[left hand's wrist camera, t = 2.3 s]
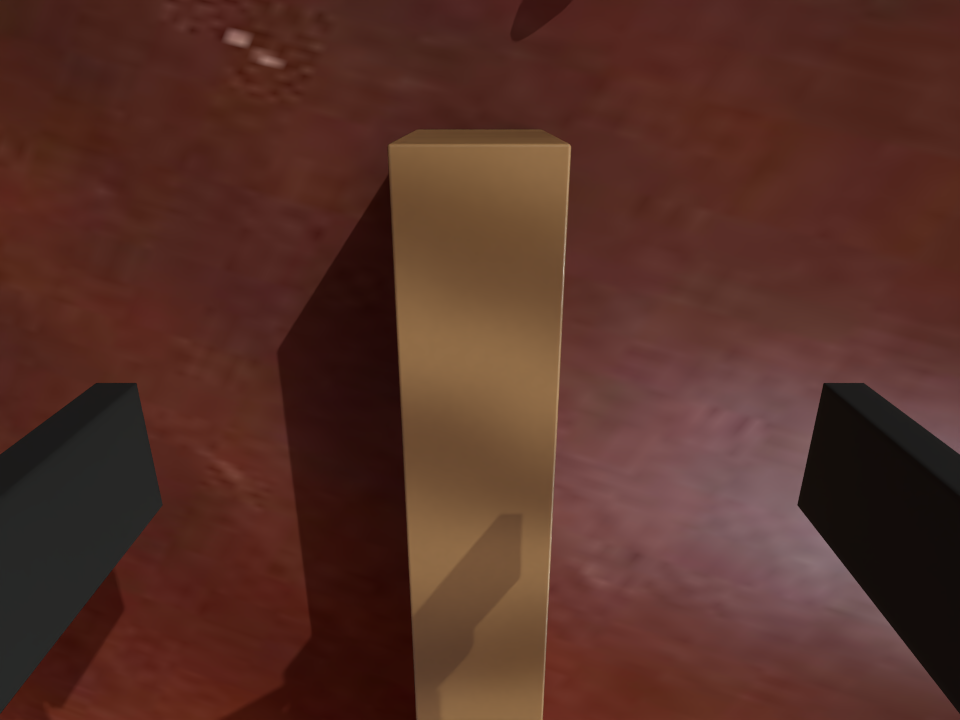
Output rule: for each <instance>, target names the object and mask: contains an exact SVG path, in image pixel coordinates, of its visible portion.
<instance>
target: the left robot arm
mask: <svg viewBox="0 0 960 720" xmlns="http://www.w3.org/2000/svg"><path fill="white" fill-rule="evenodd" d="M161 506H162V500H161V496H160V491H159V486H158V482H157V477H156V472H155V468H154V463H153V458H152V454H151V449H150V444H149V440H148V435H147V430H146V426H145V421H144V417H143V412H142V407H141V403H140V398H139V393H138V389H137V384H136V383H96V384H94V385H93V386H92V387H90V388H89V389H88V390H86V391H85V392H84V393H82V394H81V395H80V396H78V397H77V398H76V399H74V400H73V401H72V402H70V403H69V404H68V405H66V406H65V407H64V408H62V409H61V410H59V411H58V412H57V413H55V414H54V415H53V416H51V417H50V418H49V419H47V420H46V421H45V422H43V423H42V424H41V425H39V426H38V427H37V428H35V429H34V430H33V431H31V432H30V433H29V434H27V435H26V436H25V437H23V438H22V439H21V440H19V441H18V442H17V443H15V444H14V445H13V446H11V447H10V448H8V449H7V450H6V451H4V452H3V453H2V454H0V713H1V712H2V711H3V709H4V708H5V707H6V706H7V704H8V703H9V702H10V700H11V699H12V698H13V697H14V695H15V694H16V693H17V691H18V690H19V689H20V688H21V686H22V685H23V684H24V682H25V681H26V680H27V679H28V677H29V676H30V675H31V673H32V672H33V671H34V670H35V668H36V667H37V666H38V664H39V663H40V662H41V661H42V659H43V658H44V657H45V655H46V654H47V653H48V652H49V650H50V649H51V648H52V646H53V645H54V644H55V643H56V641H57V640H58V639H59V637H60V636H61V635H62V634H63V632H64V631H65V630H66V628H67V627H68V626H69V625H70V623H71V622H72V621H73V619H74V618H75V617H76V616H77V614H78V613H79V612H80V611H81V609H82V608H83V607H84V605H85V604H86V603H87V602H88V600H89V599H90V598H91V596H92V595H93V594H94V593H95V591H96V590H97V589H98V587H99V586H100V585H101V584H102V582H103V581H104V580H105V578H106V577H107V576H108V575H109V573H110V572H111V571H112V569H113V568H114V567H115V566H116V564H117V563H118V562H119V560H120V559H121V558H122V557H123V555H124V554H125V553H126V551H127V550H128V549H129V548H130V546H131V545H132V544H133V542H134V541H135V540H136V539H137V537H138V536H139V535H140V533H141V532H142V531H143V530H144V528H145V527H146V526H147V524H148V523H149V522H150V521H151V519H152V518H153V517H154V515H155V514H156V513H157V512H158V510H159V509H160V508H161ZM798 506H799V508H800V509H801V510H802V512H803V513H804V514H805V515H806V517H807V518H808V519H809V521H810V522H811V523H812V524H813V526H814V527H815V528H816V530H817V531H818V532H819V533H820V535H821V536H822V537H823V539H824V540H825V541H826V542H827V544H828V545H829V546H830V548H831V549H832V550H833V551H834V553H835V554H836V555H837V557H838V558H839V559H840V560H841V562H842V563H843V564H844V566H845V567H846V568H847V569H848V571H849V572H850V573H851V575H852V576H853V577H854V578H855V580H856V581H857V582H858V584H859V585H860V586H861V587H862V589H863V590H864V591H865V593H866V594H867V595H868V596H869V598H870V599H871V600H872V602H873V603H874V604H875V605H876V607H877V608H878V609H879V611H880V612H881V613H882V614H883V616H884V617H885V618H886V619H887V621H888V622H889V623H890V625H891V626H892V627H893V628H894V630H895V631H896V632H897V634H898V635H899V636H900V637H901V639H902V640H903V641H904V643H905V644H906V645H907V646H908V648H909V649H910V650H911V652H912V653H913V654H914V655H915V657H916V658H917V659H918V661H919V662H920V663H921V664H922V666H923V667H924V668H925V670H926V671H927V672H928V673H929V675H930V676H931V677H932V679H933V680H934V681H935V682H936V684H937V685H938V686H939V688H940V689H941V690H942V691H943V693H944V694H945V695H946V697H947V698H948V699H949V700H950V702H951V703H952V704H953V706H954V707H955V708H956V709H957V711H958V712H959V713H960V454H958V453H957V452H956V451H954V450H953V449H952V448H950V447H949V446H947V445H946V444H945V443H943V442H942V441H941V440H939V439H938V438H937V437H935V436H934V435H933V434H931V433H930V432H929V431H927V430H926V429H925V428H923V427H922V426H921V425H919V424H918V423H917V422H915V421H914V420H913V419H911V418H910V417H909V416H907V415H906V414H905V413H903V412H902V411H901V410H899V409H898V408H896V407H895V406H894V405H892V404H891V403H890V402H888V401H887V400H886V399H884V398H883V397H882V396H880V395H879V394H878V393H876V392H875V391H874V390H872V389H871V388H870V387H868V386H867V385H866V384H864V383H824V384H823V389H822V393H821V398H820V403H819V407H818V412H817V416H816V421H815V426H814V430H813V435H812V440H811V444H810V449H809V454H808V458H807V463H806V468H805V472H804V477H803V482H802V486H801V491H800V496H799V500H798Z"/></svg>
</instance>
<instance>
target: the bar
mask: <svg viewBox="0 0 960 720" xmlns="http://www.w3.org/2000/svg"><path fill="white" fill-rule="evenodd" d="M570 156H571V146H570V144H568V143H566V142H564V141H562V140H560V139H558V138H557V137H555V136H553V135H551V134H549V133H547V132H545V131H543V130H416V131H414V132H412V133H410V134H408V135H406V136H404V137H402V138H400V139H398V140H396V141H394V142H392V143H391V144H389V145H388V167H389V187H390V207H391V227H392V246H393V266H394V286H395V306H396V326H397V346H398V366H399V385H400V405H401V425H402V445H403V465H404V485H405V504H406V524H407V544H408V564H409V584H410V604H411V624H412V643H413V663H414V683H415V703H416V720H543V701H544V681H545V660H546V640H547V620H548V600H549V580H550V560H551V539H552V519H553V499H554V479H555V459H556V438H557V418H558V398H559V378H560V358H561V338H562V317H563V297H564V277H565V257H566V237H567V216H568V196H569V176H570Z"/></svg>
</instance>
